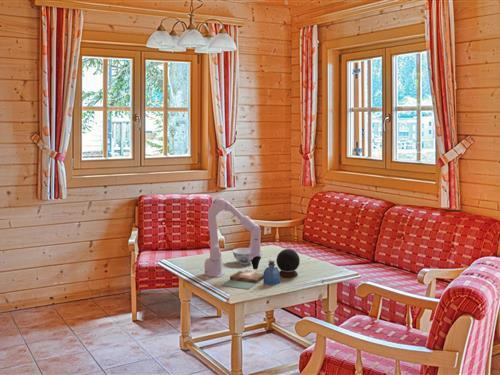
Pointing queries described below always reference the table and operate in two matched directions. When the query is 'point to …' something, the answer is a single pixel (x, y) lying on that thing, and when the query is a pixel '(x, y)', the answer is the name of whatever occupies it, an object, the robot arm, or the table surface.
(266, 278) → the perfume bottle
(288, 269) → the black ball on stand
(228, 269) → the table surface
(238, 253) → the chinaware
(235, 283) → the mat
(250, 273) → the tile
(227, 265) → the table surface
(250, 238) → the robot arm
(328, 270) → the table surface
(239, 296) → the table surface
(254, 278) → the deck
